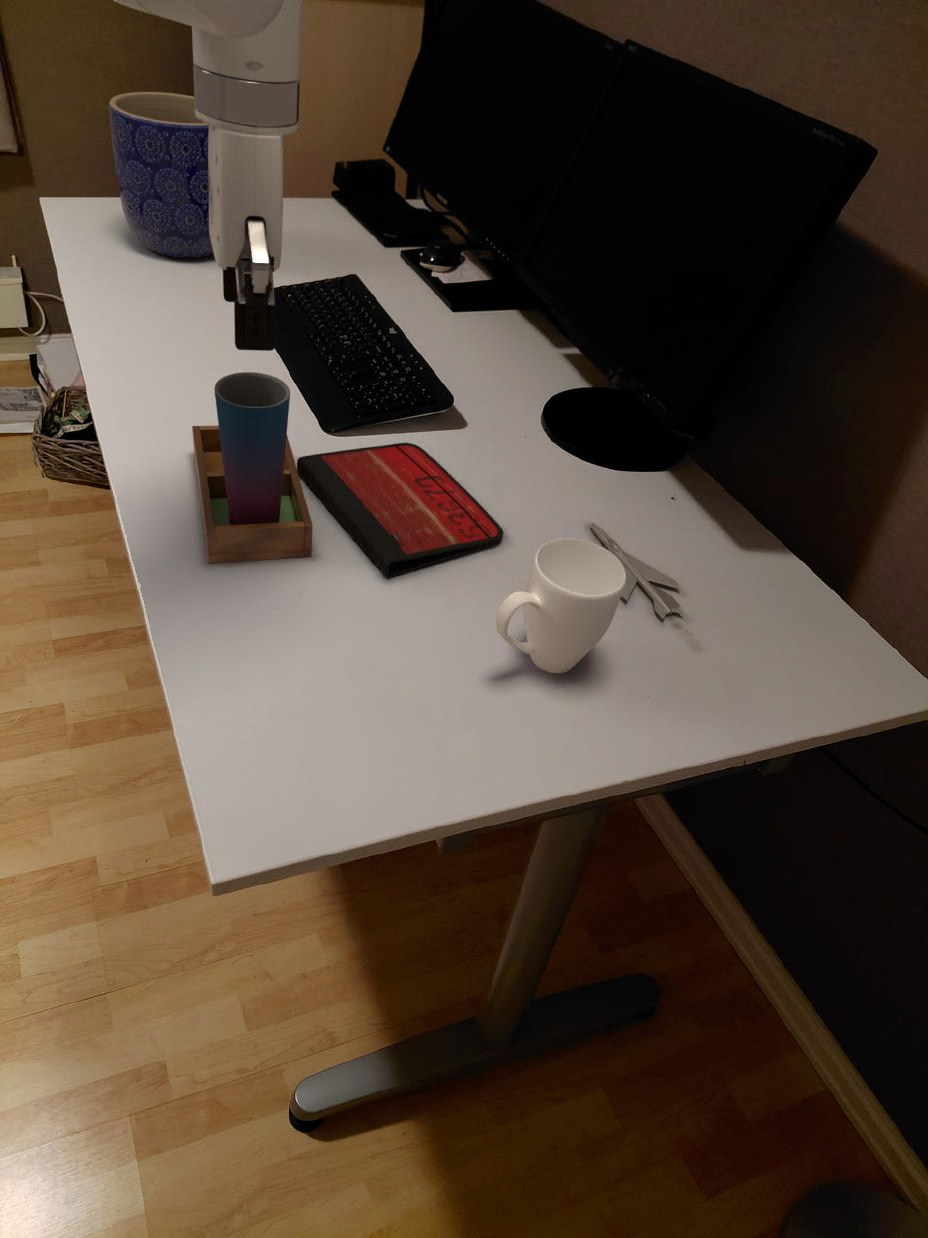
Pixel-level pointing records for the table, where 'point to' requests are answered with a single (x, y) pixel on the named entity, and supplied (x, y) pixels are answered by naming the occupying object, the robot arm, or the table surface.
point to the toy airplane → (642, 577)
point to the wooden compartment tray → (249, 538)
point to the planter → (163, 171)
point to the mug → (565, 602)
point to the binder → (399, 505)
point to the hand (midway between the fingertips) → (248, 323)
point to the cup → (253, 444)
